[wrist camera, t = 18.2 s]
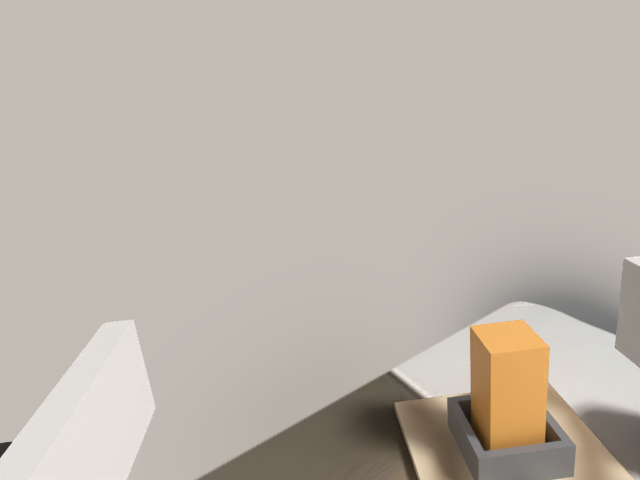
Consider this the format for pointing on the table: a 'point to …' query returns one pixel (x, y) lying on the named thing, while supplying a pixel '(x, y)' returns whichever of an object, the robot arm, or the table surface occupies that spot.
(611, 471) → the mounting board
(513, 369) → the connector plug
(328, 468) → the table surface
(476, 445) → the socket cup
